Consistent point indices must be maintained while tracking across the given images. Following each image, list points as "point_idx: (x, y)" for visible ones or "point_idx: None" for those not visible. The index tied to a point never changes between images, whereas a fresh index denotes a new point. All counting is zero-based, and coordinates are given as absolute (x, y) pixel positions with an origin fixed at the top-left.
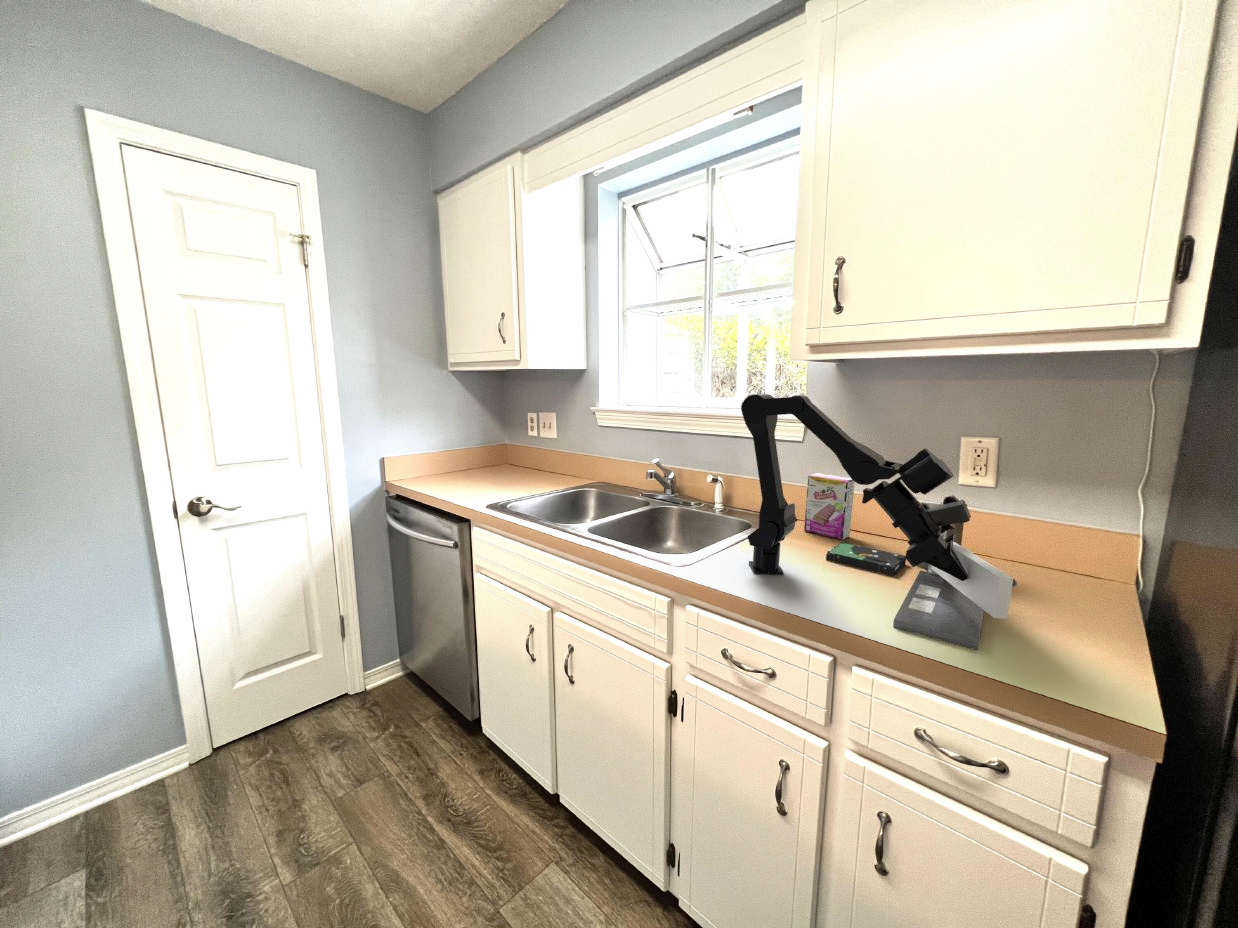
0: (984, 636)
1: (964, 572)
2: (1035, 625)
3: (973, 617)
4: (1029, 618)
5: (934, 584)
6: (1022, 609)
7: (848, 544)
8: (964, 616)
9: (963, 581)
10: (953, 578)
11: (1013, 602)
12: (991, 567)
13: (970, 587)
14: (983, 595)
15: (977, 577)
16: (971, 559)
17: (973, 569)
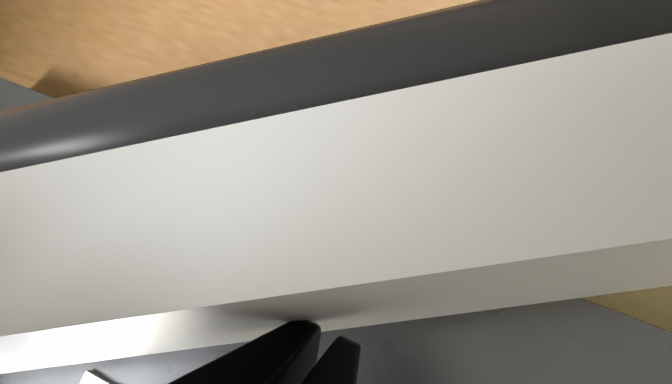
0: (647, 307)
1: (333, 381)
2: (384, 5)
3: (503, 320)
4: (306, 6)
5: (14, 381)
6: (207, 5)
7: None
8: (510, 378)
9: (265, 331)
10: (131, 352)
11: (134, 19)
12: (607, 116)
13: (389, 315)
14: (626, 284)
15: (490, 290)
16: (257, 299)
17: (372, 298)
